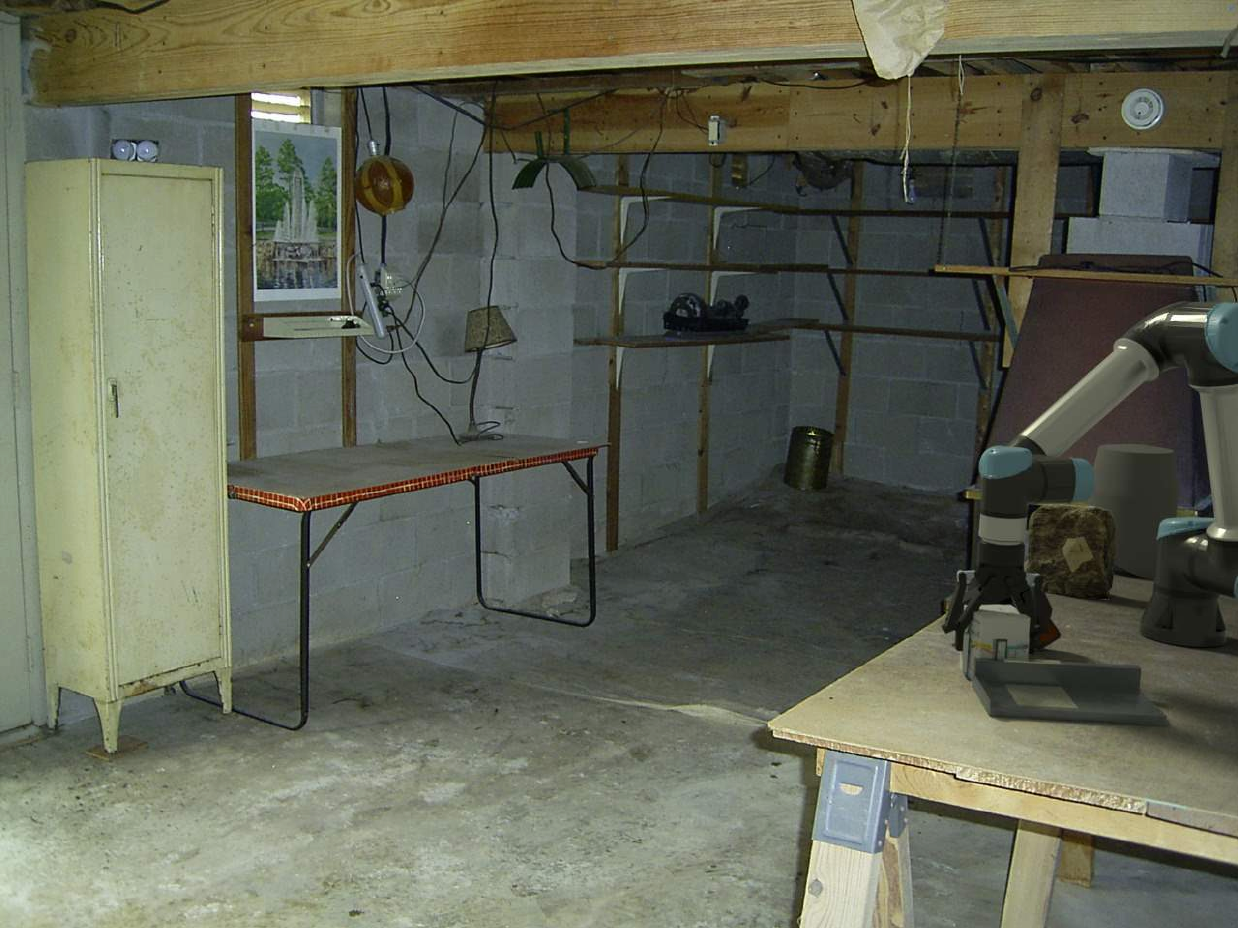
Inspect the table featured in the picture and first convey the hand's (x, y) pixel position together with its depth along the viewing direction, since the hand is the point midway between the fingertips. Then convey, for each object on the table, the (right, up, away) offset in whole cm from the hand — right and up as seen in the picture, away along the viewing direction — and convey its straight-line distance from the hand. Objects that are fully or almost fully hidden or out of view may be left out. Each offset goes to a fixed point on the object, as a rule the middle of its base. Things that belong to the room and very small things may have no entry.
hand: (992, 670), depth 204 cm
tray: (+7, -3, -13) cm, 16 cm away
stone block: (+35, +6, +61) cm, 70 cm away
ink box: (0, -1, 0) cm, 1 cm away
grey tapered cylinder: (+59, +10, +86) cm, 105 cm away
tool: (+7, +1, +18) cm, 20 cm away
